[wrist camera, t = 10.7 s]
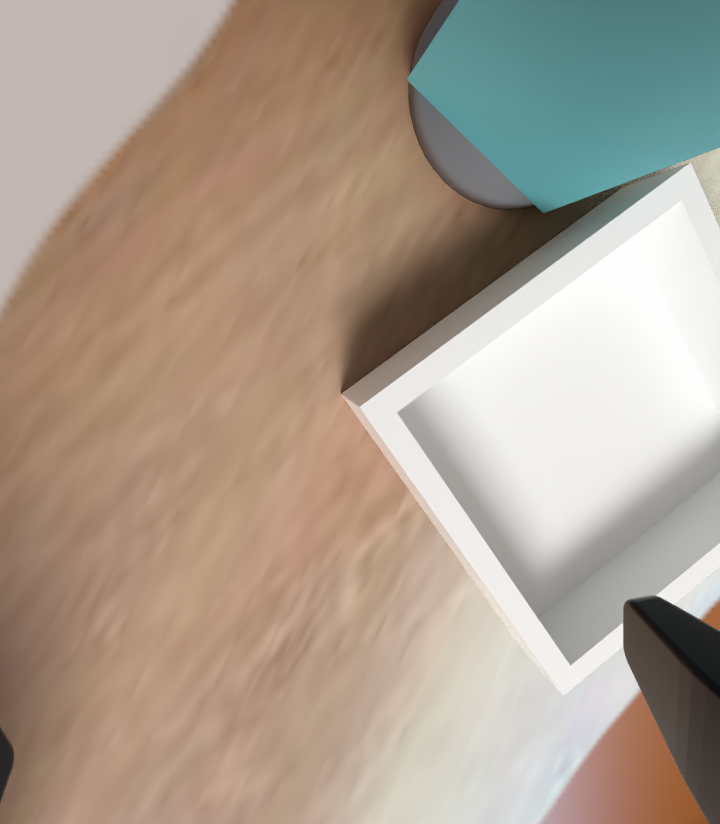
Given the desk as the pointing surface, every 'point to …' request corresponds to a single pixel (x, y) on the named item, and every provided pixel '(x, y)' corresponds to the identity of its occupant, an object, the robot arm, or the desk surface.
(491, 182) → the charcoal coaster
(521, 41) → the teal carton
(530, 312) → the white tray
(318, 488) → the desk surface
